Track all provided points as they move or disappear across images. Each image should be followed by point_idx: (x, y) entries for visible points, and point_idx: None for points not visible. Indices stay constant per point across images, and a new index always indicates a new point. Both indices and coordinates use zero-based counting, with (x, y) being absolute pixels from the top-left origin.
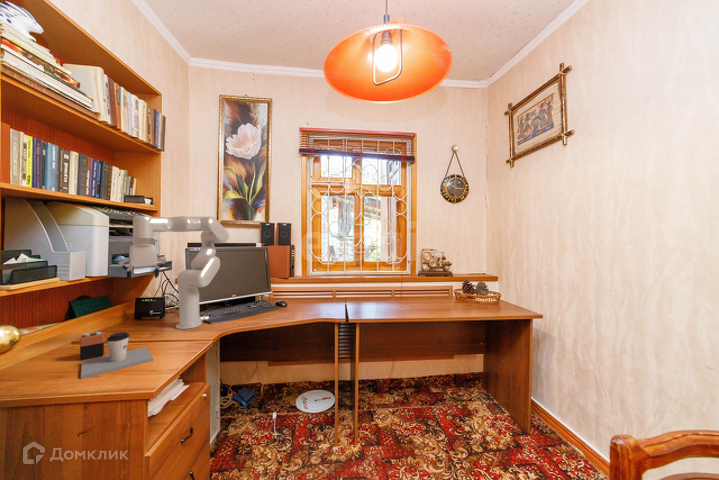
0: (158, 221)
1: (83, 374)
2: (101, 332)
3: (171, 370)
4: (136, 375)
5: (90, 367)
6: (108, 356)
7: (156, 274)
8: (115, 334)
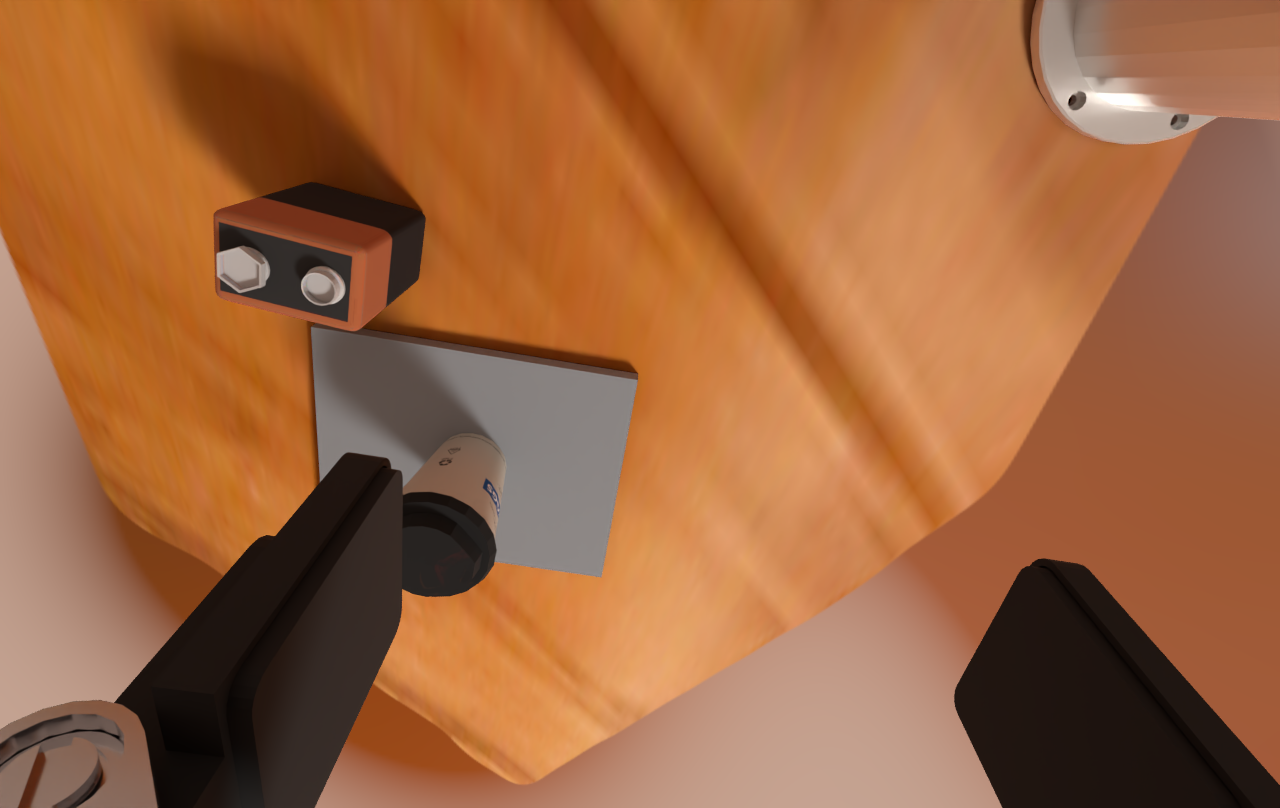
0: None
1: None
2: (345, 259)
3: (618, 712)
4: (509, 659)
5: None
6: (436, 369)
7: (1011, 795)
8: (409, 555)
